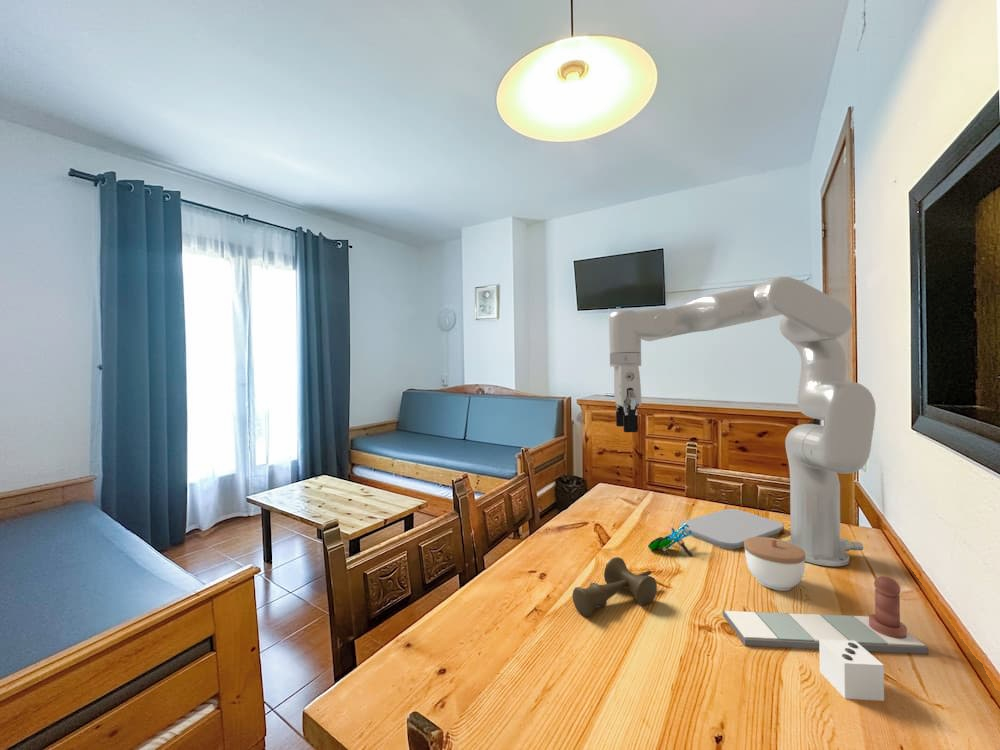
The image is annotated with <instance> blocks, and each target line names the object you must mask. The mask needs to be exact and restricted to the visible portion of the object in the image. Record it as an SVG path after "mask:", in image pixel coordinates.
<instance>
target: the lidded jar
mask: <svg viewBox="0 0 1000 750" xmlns="http://www.w3.org/2000/svg"><path fill="white" fill-rule="evenodd" d="M786 541H787V540H782V539H779V538H773V537H770V536H769V537H751V538H748V539H746V540H745V541H744V546H743V547H744V556H745V562H746V565H747V567H748V568H747V569H748V570H749V572H750V573H751V575H752V576H753V577H754V578H755V579H756V580H757V582H758V583H759V584H760V585H761V586H763V587H764V588H766V589H767V588H768V589H771V590H774V591H781V592H788V591H791V590H792V588H794V587H795V586H797V585H798V584H799V583H800V582H801V581H802V579H803V577H804V573H805V568H806V566H805V565H806V563H805V562H806V561H805V552H804V551H803V550H802V549H801V548H800V547H798V546H796V545H794V544H792V543H789V542H786Z"/></svg>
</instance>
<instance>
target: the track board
mask: <svg viewBox="0 0 1000 750" xmlns="http://www.w3.org/2000/svg"><path fill="white" fill-rule="evenodd" d="M869 616H870V615H848V614H847V615H846V614H845V615H844V614H841V615H840V614H822V613H817V614H816V613H795V612H794V613H792V612H769V611H767V612H766V611H764V612H763V611H744V610H743V611H742V610H741V611H739V610H723V611H722V617H723V619H725V621H726V622H727V624H729V626H730V627H731V629H732V630H733V632H734V633H735V634H736V636H737V637H738V639H740V641H741V642H742V643H743V645H744V647H745V646H746V647H747V646H749V647H765V648H766V647H769V648H789V649H808V650H809V649H811V650H819V639H829V640H853V641H856V642H857V643H859V644H860V645H861V646H862V647H863V648H864V649H866V650H867V651H868V652H873V653H874V652H875V653H898V654H914V655H915V654H916V655H917V654H918V655H919V654H920V655H929V647H928V646H926V645H925V643H923V642H921V641H920V640H918V639H917V638H915V637H914V636H913V635H912V634H910V633H909V632H907V637H906V638H903V639H897V638H892V637H888V636H885V635H883V634H880V633H878V632H877V631H875V630H873V629H872V628H871V627H870V626H869Z"/></svg>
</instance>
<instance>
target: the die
mask: <svg viewBox="0 0 1000 750" xmlns="http://www.w3.org/2000/svg"><path fill="white" fill-rule="evenodd" d="M818 650H819V673H821V675H822V676H824V677H825V679H826V680H827V681H828V683H830V684H831V685H832V686H833V688H834V689H836V691H837V692H838V693H839V694H840V695H841V696H842V697H843V698H844V699H848V700H849V699H850V700H851V699H852V700H864V701H865V700H866V701H882V702H884V701H885V673H884V672H885V666H884V663H882V662H881V661H879V659H877V658H876V657H875V656H874V655H873V654H871V653H870V651H867V650H866V649H864V648H863V647H862V646H861V645H860V644H859V643H857V642H856V641H853V640H829V639H819V649H818Z"/></svg>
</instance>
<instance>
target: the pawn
mask: <svg viewBox="0 0 1000 750" xmlns="http://www.w3.org/2000/svg"><path fill="white" fill-rule="evenodd" d="M873 584H874V585H873V586H874V588H875V589H874V612H875V613H874V614H873V613H872V614H870V615H868V616H869V626H870V627H871V628H872V629H873V630H875V631H877V632H878V633H880V634H883V635H885V636H888V637H892V638H897V639H903V638H906V637H907V633H908V632H907V631H908V630H907V629H908V628H907V626H906V625H905V624H904V623H902V622H901V618H900V617H901V606H900V605H901V600H900V597H901V596H900V593H901V586H900V585H899V583H898V582H897V581H896V580H895V579H893V578H892V577H890V576H886V575H881V576H878V577H876V578H875V580H874V581H873Z"/></svg>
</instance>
